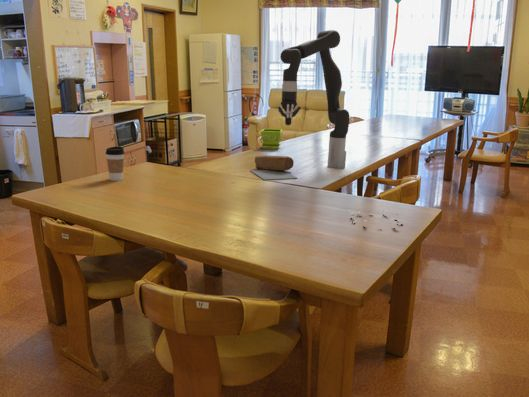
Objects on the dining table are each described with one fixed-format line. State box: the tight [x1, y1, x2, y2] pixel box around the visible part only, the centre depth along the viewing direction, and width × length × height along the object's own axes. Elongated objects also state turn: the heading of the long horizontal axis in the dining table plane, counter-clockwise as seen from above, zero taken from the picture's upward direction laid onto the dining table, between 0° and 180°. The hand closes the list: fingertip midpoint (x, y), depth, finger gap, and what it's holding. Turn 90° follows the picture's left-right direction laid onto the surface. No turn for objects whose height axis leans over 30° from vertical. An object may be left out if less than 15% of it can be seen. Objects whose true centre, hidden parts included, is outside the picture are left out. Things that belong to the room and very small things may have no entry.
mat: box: [249, 169, 298, 181], centre depth 252 cm, size 18×22×1 cm
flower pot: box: [260, 128, 283, 150], centre depth 337 cm, size 14×14×13 cm
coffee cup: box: [105, 146, 125, 182], centre depth 227 cm, size 8×8×15 cm
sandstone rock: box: [254, 155, 294, 172], centre depth 264 cm, size 11×8×20 cm
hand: (287, 125), depth 248 cm, fingers closed
